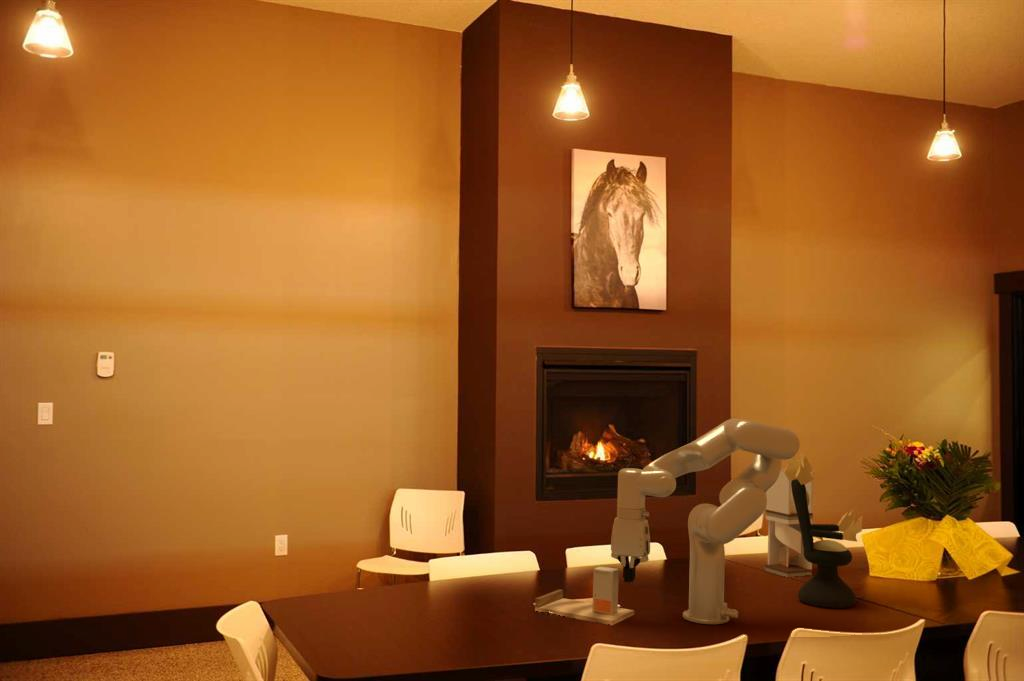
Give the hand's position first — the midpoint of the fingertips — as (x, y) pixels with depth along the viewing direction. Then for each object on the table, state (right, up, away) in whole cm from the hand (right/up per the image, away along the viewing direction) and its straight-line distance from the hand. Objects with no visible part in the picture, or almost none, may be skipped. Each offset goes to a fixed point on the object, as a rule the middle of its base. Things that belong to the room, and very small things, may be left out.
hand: (628, 581), depth 263 cm
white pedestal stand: (+63, -15, +69) cm, 94 cm away
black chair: (+61, -13, +27) cm, 68 cm away
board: (-12, -11, +7) cm, 17 cm away
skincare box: (-6, -10, +4) cm, 12 cm away
